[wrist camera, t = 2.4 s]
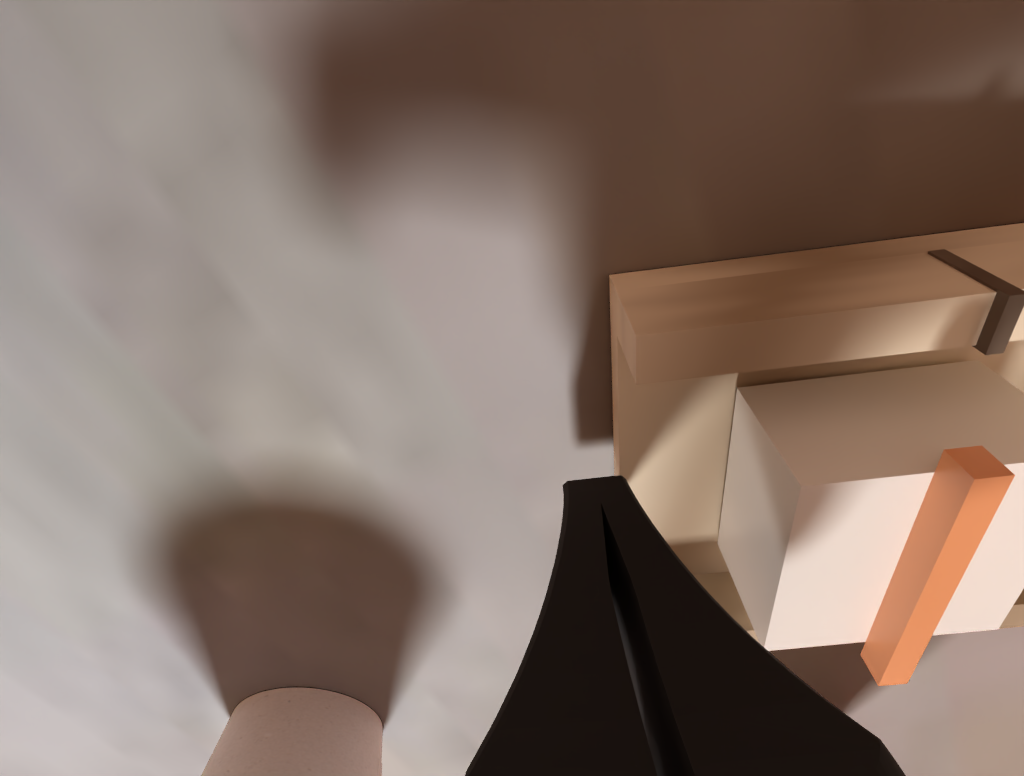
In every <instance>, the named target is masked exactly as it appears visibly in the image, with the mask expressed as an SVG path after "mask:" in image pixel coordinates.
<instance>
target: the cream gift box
mask: <svg viewBox="0 0 1024 776" xmlns="http://www.w3.org/2000/svg"><path fill="white" fill-rule="evenodd" d="M718 546H719V548H720V551H721V553H722V555H723V558H724V560H725V562H726V565H727V567H728V569H729V572H730V574H731V577H732V579H733V581H734V584H735V586H736V588H737V591H738V593H739V595H740V598H741V600H742V603H743V605H744V607H745V610H746V612H747V614H748V617H749V619H750V622H751V624H752V626H753V629H754V631H755V633H756V636H757V638H758V640H759V643H760V644H761V645H762V646H763V647H764V648H765V649H767V650H768V651H773V650H784V649H795V648H805V647H816V646H826V645H837V644H848V643H858V642H865V644H864V647H863V649H862V652H861V654H860V655H861V657H862V658H863V660H864V662H865V664H866V665H867V667H868V669H869V671H870V672H871V674H872V676H873V678H874V679H875V681H876V683H877V685H878V686H885V685H896V684H907V683H908V681H909V679H910V677H911V675H912V673H913V672H914V670H915V668H916V666H917V664H918V662H919V660H920V658H921V656H922V654H923V652H924V650H925V648H926V646H927V644H928V643H929V641H930V639H931V637H932V635H943V634H954V633H964V632H975V631H985V630H996V629H999V627H1000V626H1001V624H1002V623H1003V621H1004V619H1005V618H1006V616H1007V615H1008V613H1009V611H1010V610H1011V608H1012V607H1013V605H1014V603H1015V602H1016V600H1017V599H1018V597H1019V595H1020V594H1021V592H1022V591H1023V589H1024V393H1023V392H1022V391H1020V390H1019V389H1017V388H1016V387H1015V386H1013V385H1012V384H1010V383H1009V382H1008V381H1006V380H1005V379H1004V378H1002V377H1001V376H999V375H998V374H997V373H995V372H994V371H992V370H991V369H990V368H988V367H987V366H985V365H984V364H983V363H981V362H980V361H978V360H973V361H964V362H956V363H947V364H938V365H930V366H921V367H912V368H904V369H895V370H886V371H878V372H869V373H860V374H852V375H843V376H834V377H826V378H817V379H808V380H800V381H791V382H782V383H774V384H765V385H756V386H748V387H739V388H737V392H736V400H735V408H734V416H733V424H732V432H731V440H730V448H729V456H728V464H727V472H726V480H725V488H724V496H723V504H722V512H721V520H720V528H719V536H718Z"/></svg>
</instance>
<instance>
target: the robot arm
mask: <svg viewBox="0 0 1024 776" xmlns="http://www.w3.org/2000/svg"><path fill="white" fill-rule="evenodd" d="M563 492H564V508H563V519H562V527H561V533H560V538H559V544H558V549H557V554H556V559H555V563H554V567H553V571H552V575H551V578H550V582H549V586H548V590H547V593H546V597H545V600H544V603H543V606H542V609H541V612H540V615H539V618H538V621H537V624H536V627H535V630H534V632H533V635H532V638H531V640H530V643H529V645H528V648H527V650H526V653H525V655H524V658H523V660H522V663H521V665H520V667H519V670H518V672H517V674H516V677H515V679H514V681H513V683H512V685H511V687H510V689H509V691H508V693H507V695H506V698H505V700H504V702H503V704H502V706H501V708H500V710H499V712H498V714H497V716H496V718H495V720H494V722H493V724H492V726H491V728H490V730H489V731H488V733H487V735H486V737H485V739H484V740H483V742H482V744H481V746H480V748H479V749H478V751H477V753H476V755H475V757H474V758H473V760H472V762H471V764H470V766H469V767H468V769H467V771H466V775H465V776H905V774H904V773H903V771H902V770H901V768H900V767H899V765H898V764H897V762H896V761H895V759H894V758H893V756H892V755H891V754H890V752H889V751H888V749H887V748H886V747H885V745H884V744H883V743H882V741H881V740H880V739H879V738H878V737H876V736H875V735H873V734H872V733H871V732H869V731H868V730H867V729H865V728H864V727H862V726H861V725H860V724H858V723H857V722H855V721H854V720H853V719H851V718H850V717H849V716H847V715H846V714H845V713H843V712H842V711H841V710H839V709H838V708H837V707H835V706H834V705H833V704H831V703H830V702H829V701H828V700H826V699H825V698H824V697H822V696H821V695H820V694H819V693H817V692H816V691H815V690H814V689H812V688H811V687H810V686H809V685H807V684H806V683H805V682H804V681H802V680H801V679H800V678H799V677H798V676H796V675H795V674H794V673H793V672H792V671H790V670H789V669H788V668H787V667H786V666H785V665H784V664H782V663H781V662H780V661H779V660H778V659H777V658H776V657H775V656H773V655H772V654H771V653H770V652H769V651H768V650H767V649H765V648H764V647H763V646H762V645H761V644H760V643H759V642H757V641H756V640H755V639H754V638H753V637H752V636H751V635H750V634H749V633H748V632H747V631H746V630H745V629H744V628H743V627H742V626H741V625H740V624H738V623H737V622H736V621H735V620H734V619H733V618H732V617H731V616H730V615H729V614H728V613H727V612H726V611H725V610H724V608H723V607H722V606H721V605H720V604H719V603H718V602H717V601H716V600H715V599H714V598H713V597H712V596H711V595H710V594H709V593H708V592H707V590H706V589H705V588H704V587H703V586H702V585H701V584H700V583H699V581H698V580H697V579H696V578H695V577H694V576H693V574H692V573H691V572H690V571H689V570H688V569H687V567H686V566H685V565H684V564H683V563H682V561H681V560H680V559H679V558H678V556H677V555H676V554H675V553H674V551H673V550H672V549H671V547H670V546H669V545H668V543H667V542H666V541H665V539H664V538H663V537H662V535H661V534H660V533H659V531H658V530H657V529H656V527H655V526H654V524H653V523H652V521H651V520H650V518H649V517H648V515H647V514H646V512H645V511H644V509H643V508H642V506H641V505H640V503H639V502H638V500H637V498H636V497H635V495H634V493H633V491H632V490H631V488H630V486H629V484H628V482H627V480H626V478H624V477H623V476H621V475H619V476H610V477H601V478H591V479H582V480H573V481H567V482H566V483H565V484H564V485H563Z"/></svg>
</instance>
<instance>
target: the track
mask: <svg viewBox="0 0 1024 776" xmlns="http://www.w3.org/2000/svg"><path fill="white" fill-rule="evenodd" d="M609 285H610V323H611V361H612V399H613V438H614V476H619V475H621V476H623V477H624V478H626V480H627V482H628V484H629V486H630V488H631V490H632V491H633V493H634V495H635V497H636V498H637V500H638V502H639V503H640V505H641V506H642V508H643V509H644V511H645V512H646V514H647V515H648V517H649V518H650V520H651V521H652V523H653V524H654V526H655V527H656V529H657V530H658V531H659V533H660V534H661V535H662V537H663V538H664V539H665V541H666V542H667V543H668V545H669V546H670V547H671V549H672V550H673V551H674V553H675V554H676V555H677V556H678V558H679V559H680V560H681V561H682V563H683V564H684V565H685V566H686V567H687V569H688V570H689V571H690V572H691V573H692V574H693V576H694V577H695V578H696V579H697V580H698V581H699V583H700V584H701V585H702V586H703V587H704V588H705V589H706V590H707V592H708V593H709V594H710V595H711V596H712V597H713V598H714V599H715V600H716V601H717V602H718V603H719V604H720V605H721V606H722V607H723V608H724V610H725V611H726V612H727V613H728V614H729V615H730V616H731V617H732V618H733V619H734V620H735V621H736V622H737V623H738V624H740V625H741V626H742V627H743V628H744V629H745V630H746V631H747V632H748V633H749V634H750V635H751V636H752V637H753V638H754V639H755V640H756V641H757V642H759V640H758V638H757V636H756V633H755V631H754V629H753V626H752V624H751V622H750V619H749V617H748V614H747V612H746V610H745V607H744V605H743V603H742V600H741V598H740V595H739V593H738V591H737V588H736V586H735V584H734V581H733V579H732V577H731V574H730V572H729V569H728V567H727V565H726V562H725V560H724V558H723V555H722V553H721V551H720V548H719V546H718V536H719V528H720V520H721V512H722V504H723V496H724V488H725V480H726V472H727V464H728V456H729V448H730V440H731V432H732V424H733V416H734V408H735V400H736V392H737V388H739V387H748V386H756V385H765V384H774V383H782V382H791V381H800V380H808V379H817V378H826V377H834V376H843V375H852V374H860V373H869V372H878V371H886V370H895V369H904V368H912V367H921V366H930V365H938V364H947V363H956V362H964V361H973V360H978V361H980V362H981V363H983V364H984V365H985V366H987V367H988V368H990V369H991V370H992V371H994V372H995V373H997V374H998V375H999V376H1001V377H1002V378H1004V379H1005V380H1006V381H1008V382H1009V383H1010V384H1012V385H1013V386H1015V387H1016V388H1017V389H1019V390H1020V391H1022V392H1023V393H1024V223H1019V224H1011V225H1003V226H995V227H987V228H979V229H971V230H963V231H955V232H947V233H939V234H931V235H923V236H915V237H907V238H899V239H891V240H884V241H876V242H868V243H860V244H852V245H844V246H836V247H828V248H820V249H812V250H804V251H796V252H788V253H780V254H772V255H764V256H756V257H748V258H740V259H732V260H724V261H716V262H708V263H700V264H692V265H684V266H676V267H668V268H660V269H652V270H645V271H637V272H629V273H621V274H613V275H609ZM1021 626H1024V589H1023V591H1022V592H1021V594H1020V595H1019V597H1018V599H1017V600H1016V602H1015V603H1014V605H1013V607H1012V608H1011V610H1010V611H1009V613H1008V615H1007V616H1006V618H1005V619H1004V621H1003V623H1002V624H1001V626H1000V627H999V629H1000V628H1011V627H1021Z"/></svg>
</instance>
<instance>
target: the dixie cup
mask: <svg viewBox="0 0 1024 776" xmlns="http://www.w3.org/2000/svg"><path fill="white" fill-rule="evenodd" d="M382 733H383V726H382V722H381V720H380V718H379V717H378V715H377V714H376V713H375V712H374V711H373V710H372V709H371V708H369V707H368V706H367V705H365V704H363V703H362V702H360V701H358V700H356V699H354V698H351V697H349V696H346V695H343V694H340V693H336V692H332V691H327V690H322V689H314V688H280V689H273V690H268V691H264V692H260V693H257V694H255V695H252V696H250V697H248V698H246V699H245V700H243V701H242V702H241V703H239V704H238V705H237V707H236V708H235V709H234V711H233V713H232V715H231V717H230V719H229V721H228V723H227V725H226V727H225V729H224V731H223V733H222V735H221V737H220V739H219V741H218V743H217V745H216V747H215V749H214V751H213V754H212V755H211V757H210V759H209V761H208V763H207V765H206V767H205V769H204V771H203V773H202V775H201V776H382V763H381V758H382Z"/></svg>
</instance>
